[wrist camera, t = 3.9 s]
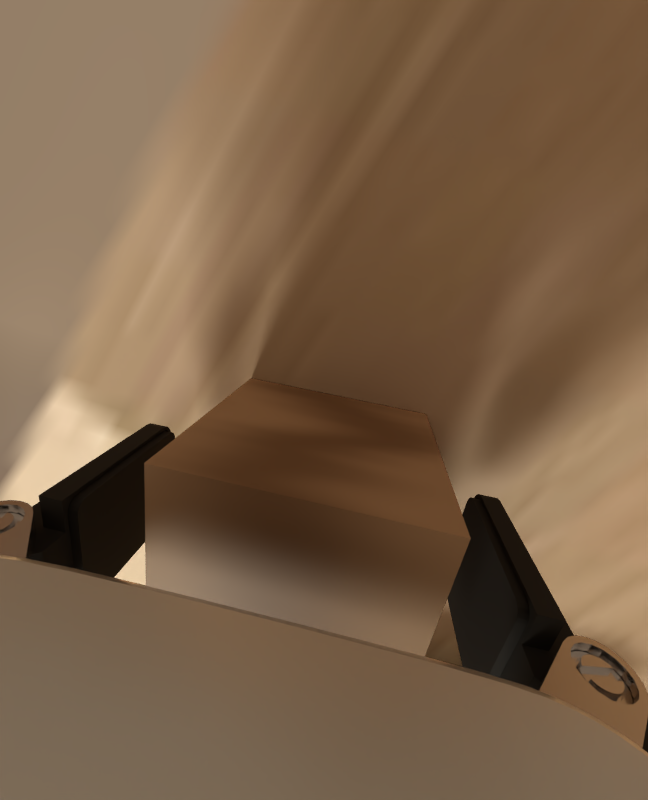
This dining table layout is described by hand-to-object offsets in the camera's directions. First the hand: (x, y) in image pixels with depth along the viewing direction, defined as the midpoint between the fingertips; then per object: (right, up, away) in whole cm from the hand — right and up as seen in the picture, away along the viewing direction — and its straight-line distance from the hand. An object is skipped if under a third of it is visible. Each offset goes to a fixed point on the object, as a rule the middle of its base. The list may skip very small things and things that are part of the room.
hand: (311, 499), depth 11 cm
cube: (0, +1, +2) cm, 2 cm away
